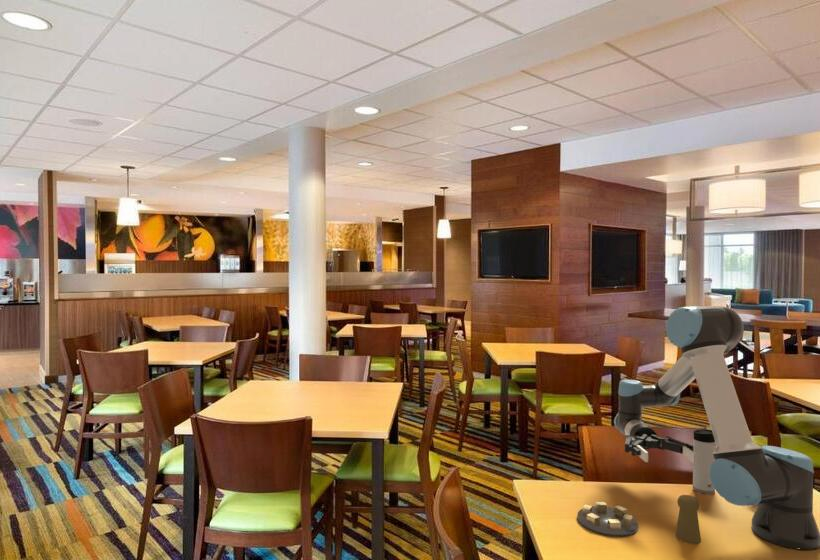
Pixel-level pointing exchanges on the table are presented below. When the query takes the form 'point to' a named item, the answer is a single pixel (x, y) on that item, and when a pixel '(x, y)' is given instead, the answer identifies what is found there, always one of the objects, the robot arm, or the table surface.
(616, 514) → the ring holder
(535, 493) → the table surface
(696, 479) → the travel mug
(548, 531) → the table surface
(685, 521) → the cork
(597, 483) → the table surface
